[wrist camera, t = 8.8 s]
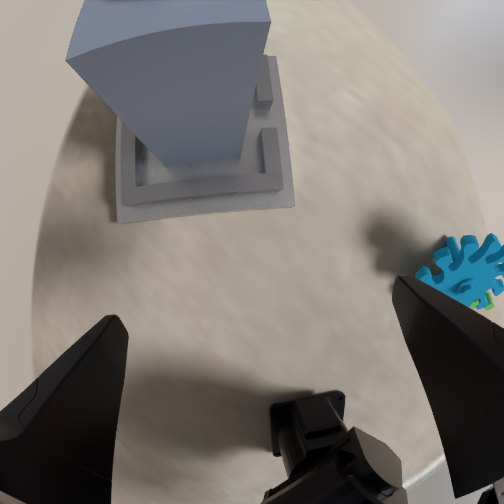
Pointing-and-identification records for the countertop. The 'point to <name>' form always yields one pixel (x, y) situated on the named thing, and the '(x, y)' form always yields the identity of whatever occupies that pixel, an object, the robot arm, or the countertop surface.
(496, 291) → the gear
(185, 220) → the countertop surface
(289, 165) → the grey square tray
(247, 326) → the countertop surface
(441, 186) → the countertop surface
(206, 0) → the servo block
